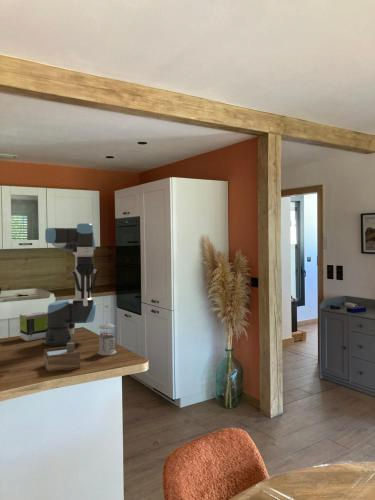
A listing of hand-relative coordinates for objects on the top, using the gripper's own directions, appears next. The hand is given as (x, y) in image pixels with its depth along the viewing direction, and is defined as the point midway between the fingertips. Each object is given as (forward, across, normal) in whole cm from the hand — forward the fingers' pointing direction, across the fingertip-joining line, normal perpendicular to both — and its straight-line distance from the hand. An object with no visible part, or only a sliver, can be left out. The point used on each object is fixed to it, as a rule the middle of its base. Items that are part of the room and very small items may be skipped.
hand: (85, 305), depth 196 cm
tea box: (+28, -14, +64) cm, 71 cm away
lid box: (+28, -11, 0) cm, 30 cm away
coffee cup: (+28, +5, +64) cm, 70 cm away
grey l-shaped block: (+23, -11, 0) cm, 25 cm away
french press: (+28, +14, +13) cm, 34 cm away
